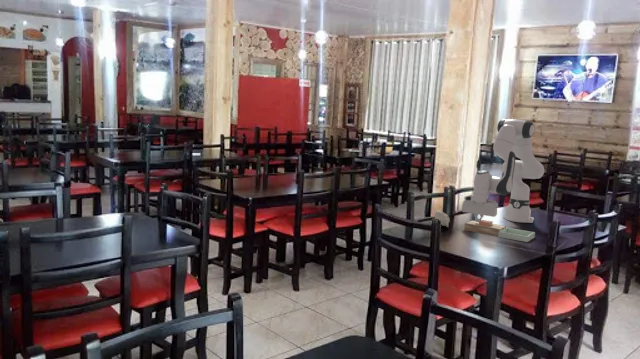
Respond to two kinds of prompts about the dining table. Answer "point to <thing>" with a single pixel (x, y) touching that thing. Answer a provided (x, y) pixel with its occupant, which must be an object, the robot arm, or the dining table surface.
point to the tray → (516, 234)
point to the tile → (485, 223)
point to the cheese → (442, 218)
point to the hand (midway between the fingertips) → (478, 221)
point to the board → (483, 228)
